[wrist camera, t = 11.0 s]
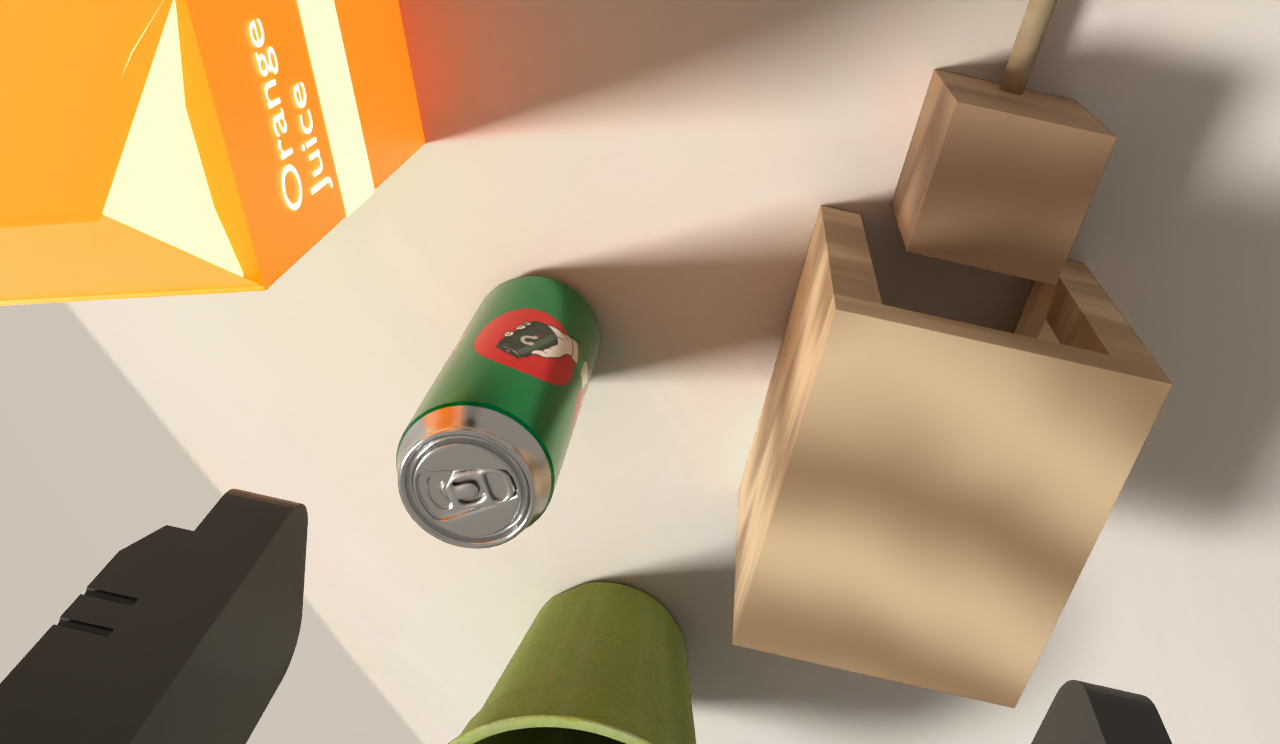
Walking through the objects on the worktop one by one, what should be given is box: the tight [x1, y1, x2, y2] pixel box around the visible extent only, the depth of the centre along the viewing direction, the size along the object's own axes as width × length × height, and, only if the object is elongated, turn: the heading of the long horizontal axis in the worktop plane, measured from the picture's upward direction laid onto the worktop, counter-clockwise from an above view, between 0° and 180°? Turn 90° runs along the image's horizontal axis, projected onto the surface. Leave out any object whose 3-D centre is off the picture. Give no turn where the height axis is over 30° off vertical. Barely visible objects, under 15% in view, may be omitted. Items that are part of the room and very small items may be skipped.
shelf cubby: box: [732, 205, 1173, 708], centre depth 38 cm, size 13×10×10 cm
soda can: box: [396, 276, 600, 548], centre depth 38 cm, size 5×5×12 cm
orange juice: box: [0, 0, 425, 306], centre depth 30 cm, size 8×9×20 cm
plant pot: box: [448, 582, 696, 744], centre depth 45 cm, size 12×12×11 cm
